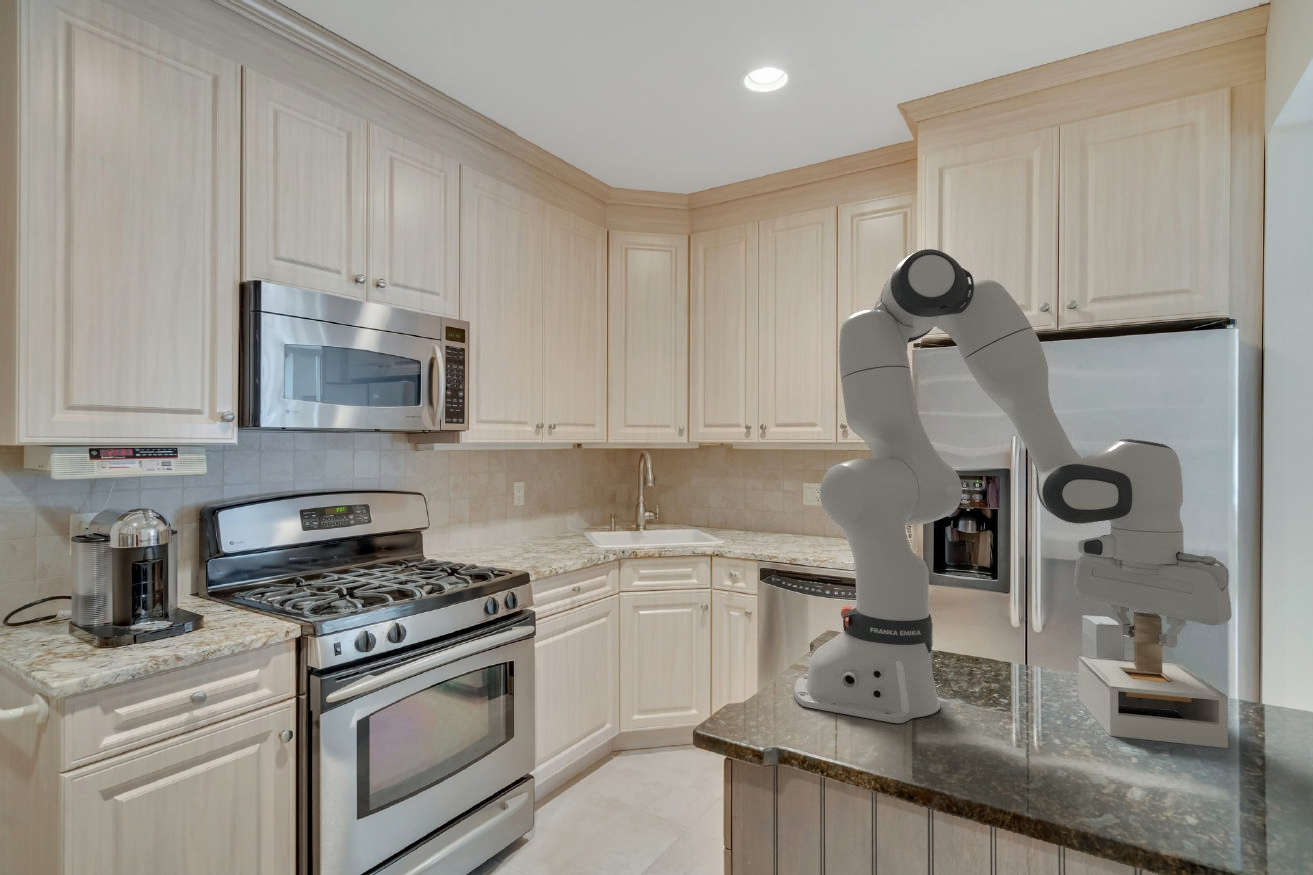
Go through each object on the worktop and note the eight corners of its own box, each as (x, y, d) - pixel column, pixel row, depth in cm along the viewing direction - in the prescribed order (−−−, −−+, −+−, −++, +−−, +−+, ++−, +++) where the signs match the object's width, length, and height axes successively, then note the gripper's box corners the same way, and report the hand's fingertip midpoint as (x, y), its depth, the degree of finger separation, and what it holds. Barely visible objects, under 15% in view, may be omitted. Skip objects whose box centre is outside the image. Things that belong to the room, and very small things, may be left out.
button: (1126, 707, 98) (1126, 687, 98) (1106, 687, 106) (1106, 670, 106) (1191, 713, 96) (1191, 693, 96) (1166, 693, 104) (1166, 674, 104)
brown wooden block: (1137, 670, 101) (1136, 616, 101) (1134, 664, 103) (1133, 611, 103) (1162, 673, 99) (1161, 618, 99) (1158, 667, 102) (1157, 614, 102)
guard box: (1110, 735, 96) (1110, 686, 96) (1078, 699, 110) (1078, 656, 110) (1227, 748, 92) (1227, 696, 93) (1180, 708, 106) (1180, 664, 106)
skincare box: (1125, 699, 110) (1125, 625, 110) (1096, 697, 111) (1096, 623, 111) (1108, 686, 116) (1108, 615, 116) (1081, 684, 117) (1080, 614, 117)
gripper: (1241, 557, 93) (1242, 658, 93) (1093, 538, 112) (1094, 622, 112) (1213, 560, 91) (1215, 664, 90) (1067, 540, 109) (1068, 627, 109)
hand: (1147, 641), depth 101 cm, fingers closed on brown wooden block, 4 cm apart
